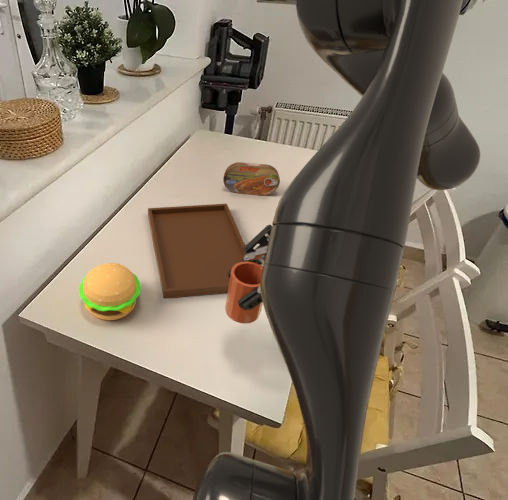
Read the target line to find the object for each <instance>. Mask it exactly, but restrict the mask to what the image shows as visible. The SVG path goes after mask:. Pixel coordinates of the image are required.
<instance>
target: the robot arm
mask: <svg viewBox="0 0 508 500" xmlns="http://www.w3.org/2000/svg"><path fill="white" fill-rule="evenodd" d="M294 2H295V3H294V4H295V10H296V16H297V21H298V23H299V27H300V30H301V32H302V34H303V36H304V38H305V40H306V42H307V43H308V45H309V46H310V47H311V49H312V50H313V52H314V53H315V54H316V55H317V56H318V57H319V58H320V59H321V60H322V61H323V62H324V63H325V64H326V65H327V66H328V67H329V68H331V70H333V72H335V73H336V74H337V75H338V76H339V77H340V78H341V79H342V80H343V81H344V82H345V83H346V84H348V86H349V87H350V88H351V89H353V90H354V92H356V93H357V94H358V95H360V97H361V98H360V100H359V101H358V103H357V104H356V105H355V107H354V108H353V110H352V111H351V112H350V114H349V115H348V116H347V118H345V120H344V121H343V122H342V123H341V125H340V126H339V127H338V128H337V130H335V132H334V133H333V134H332V135H331V136H330V137H329V138H328V139H327V140H326V141H325V143H324V144H323V145H322V146H321V147H320V148H319V149H318V150H317V152H315V154H314V155H313V156H312V157H311V158H310V159H309V160H308V161H307V162H306V164H305V165H304V166H303V167H302V168H301V170H300V171H299V172H298V173H297V174H296V176H294V178H293V179H292V181H291V182H290V184H289V185H287V187H286V189H285V191H284V192H283V194H282V196H281V197H280V199H279V201H278V204H277V206H276V209H275V212H274V216H273V220H272V222H271V223H272V224H267V225H266V226H265V227H264V228H263V229H262V230H261V231H260V232H259V233H257V234H256V235H255V236H254V237H253V238H252V239H251V240H250V241H249V242H247V244H245V247H244V251H245V256H244V259H243V260H242V261H240V262H246V261H249V262H255V263H257V264H259V265H262V266H263V269H262V274H261V281H260V286H259V287H258V289H254V290H253V291H251V292H250V293H248V294H247V295H245V296H244V297H242V298H241V299H240V300H238V305H239V306H240V307H241V308H242V309H244V310H251V309H253V308H254V307H256V306H257V305H259V304H260V303H262V302H263V304H262V306H263V309H264V312H265V315H266V318H267V320H268V323H269V326H270V330H271V332H272V334H273V337H274V339H275V342H276V345H277V347H278V350H279V352H280V355H281V357H282V359H283V362H284V364H285V366H286V369H287V372H288V375H289V378H290V380H291V383H292V386H293V389H294V393H295V396H296V399H297V403H298V406H299V407H298V408H299V410H300V413H301V414H300V415H301V417H302V422H303V426H304V432H305V441H306V456H305V457H306V458H305V465H304V468H303V471H302V472H301V473H298V472H294V471H291V470H288V469H285V468H282V467H278V466H275V465H272V464H269V463H267V462H263V461H259V460H257V459H253V458H250V457H247V456H243V455H240V454H237V453H234V452H229V451H222V452H219V453H217V454H215V455H214V456H213V457H211V458H210V459H209V461H208V462H207V463H206V465H205V466H204V468H203V470H202V471H201V474H200V477H199V479H198V481H197V484H196V486H195V490H194V493H193V497H192V500H355V494H356V489H357V481H358V475H359V466H360V459H361V452H362V446H363V445H362V444H363V438H364V431H365V426H366V425H365V424H366V418H367V413H368V408H369V402H370V398H371V393H372V389H373V384H374V380H375V375H376V371H377V366H378V362H379V358H380V354H381V348H382V345H383V340H384V336H385V332H386V328H387V324H388V322H389V321H388V320H389V317H390V313H391V309H392V304H393V301H394V298H395V294H396V292H395V291H396V289H397V284H398V280H399V276H400V270H401V266H402V261H403V256H404V252H405V249H404V248H405V247H406V243H407V237H408V236H407V235H408V230H409V225H410V218H411V213H412V209H413V208H412V207H413V202H414V195H415V190H416V184H417V180H418V181H419V182H420V183H421V184H422V185H423V186H424V187H427V188H428V189H431V190H433V191H434V190H435V191H447V190H452V189H454V188H457V187H459V186H461V185H462V184H464V183H466V182H467V181H469V179H470V178H471V177H472V176H473V175H474V174H475V172H476V170H477V169H478V167H479V165H480V161H481V150H480V146H479V144H478V142H477V140H476V138H475V136H474V135H473V134H472V132H471V131H470V129H469V128H468V126H467V125H466V124H465V122H464V121H463V119H462V117H460V115H459V108H458V104H457V99H456V94H455V92H454V88H453V86H452V84H451V81H450V80H449V78H448V76H446V75H445V74H444V68H445V65H446V61H447V58H448V55H449V52H450V47H451V45H452V41H453V37H454V34H455V30H456V27H457V24H458V21H459V18H460V13H461V10H462V6H463V2H464V0H294ZM255 247H256V248H255ZM240 262H239V263H240ZM231 270H232V268H231V269H230V271H229V272H228V273H227V274H228V277H229V278H230V275H231Z"/></svg>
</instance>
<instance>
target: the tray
mask: <svg viewBox="0 0 508 500" xmlns="http://www.w3.org/2000/svg"><path fill="white" fill-rule="evenodd" d="M147 219H148V223H149V228H150V233H151V238H152V244H153V249H154V255H155V260H156V265H157V271H158V276H159V281H160V288H161V293H162V298H163V299H170V298H171V299H173V298H184V297H196V296H207V295H220V294H227V293H228V287H229V281H230V278H229V277H228V274H227V273H228V272H229V271H230V269H231V268H232V267H233V266H234V265H235V264H237V263H239V262H240V261H242V260H243V259H244V256H245V251H244V247H245V246H246V244H245V242H244V239H243V237H242V235H241V232H240V230H239V227H238V226H237V223H236V221H235V219H234V217H233V215H232V213H231V210H230V207H229V206H228V204H227V203H213V204H198V205H196V204H195V205H179V206H163V207H148V208H147Z"/></svg>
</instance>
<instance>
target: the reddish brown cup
mask: <svg viewBox="0 0 508 500" xmlns="http://www.w3.org/2000/svg"><path fill="white" fill-rule="evenodd" d="M262 269H263V265H259V264H257V263H255V262H249V261H246V262H240V263H237V264H235V265H234V266H233V267H232V270H231V275H230V281H229V287H228V293H226V300H225V305H224V311H225V314H226V316H227V317H228V318H229V319H230V320H232V321H233V322H235V323H238V324H245V325H247V324H252V323H254V322H256V321H258V319H259V317H260V316H261V311H262V307H263V302H262V303H260V304H259V305H257V306H256V307H254V308H253V309H251V310H244V309H242V308H241V307H240V306H239V305H238V300H240V299H241V298H242V297H244V296H245V295H247V294H248V293H250V292H251V291H253V290H254V289H258V287H259V286H260V281H261V274H262Z"/></svg>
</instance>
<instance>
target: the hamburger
mask: <svg viewBox="0 0 508 500" xmlns="http://www.w3.org/2000/svg"><path fill="white" fill-rule="evenodd" d="M141 286H142V285H141V282H140V279H139V278H138V276H137V275H136V274H135V273H133V272H132V271H131V270H130V269H129V268H128V267H126V266H125V265H123V264H120V263H116V262H108V263H107V262H106V263H102V264H99V265H96V266H94V267H93V268H91V269H90V270H89V271H88V272H87V274H86V275H85V276H83V278H82V280H81V282H80V285H79V286H78V293H79V297H80V299H81V300H82V302H83V305H84V308H85V310H87V311H88V312H89V313H90V314H91V315H92V316H94V317H95V318H97V319H99V320H102V321H115V320H116V321H117V320H119V319H122V318H124V317H126V316H128V315H129V314H130V313H131V312H132V311H133V310H134V308H135V306H136V303H137V299H138V297H139V296H140V294H141V290H142V289H141V288H142V287H141Z"/></svg>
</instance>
